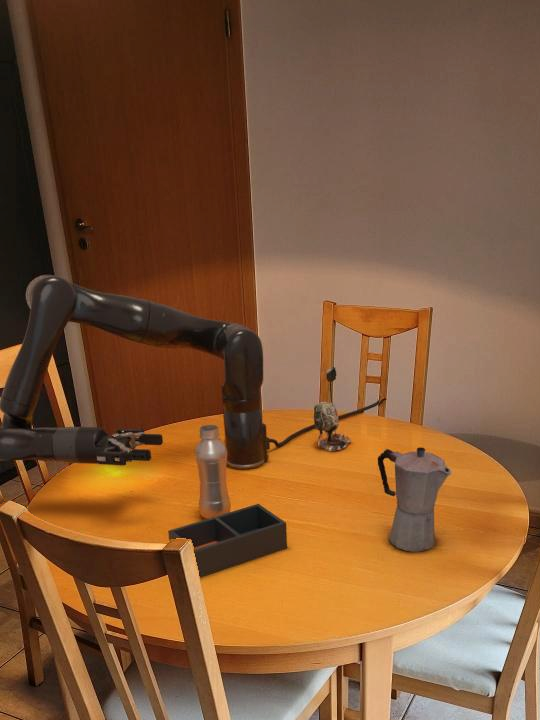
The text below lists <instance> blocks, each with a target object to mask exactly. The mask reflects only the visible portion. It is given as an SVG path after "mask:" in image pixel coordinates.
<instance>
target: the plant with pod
mask: <svg viewBox="0 0 540 720" xmlns="http://www.w3.org/2000/svg"><path fill="white" fill-rule="evenodd" d="M325 378H326V380H327V382H329V395H330V401H320V402H319V403H316V404H315V405H314V407H313V423H314V424H315V428H314V429H315V430H316V431H317V430H318V431H319V435H318V437H317V438H318V444H317V446H318V447H319V448H320V449H322V450H324V451H328V452H329V451H330V452H335V451H336V452H337V451H340V450H342V449H343V448H346V447H347V446H348V444H350V442H352V439H350V437H349V436H348V435H347V436H345V434H344V433H343V432H339V433H337V432H336V431H337V430H338V428H339V426H340V425H339V424H340V423H339V420H340V419H339V418H338V416H339V415H338V411H337V407H336V405H335V403H333V393H332V383H333V382H334V381H335V380H337V370H336V367H335V366H332V365H331V366H330V367H328V369H327V370H326V373H325ZM338 419H339V420H338ZM314 424H313V425H314ZM323 432H324V433H325V434H326V436H327V437H326V438H323V439H322V437H323V434H324V433H323Z"/></svg>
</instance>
